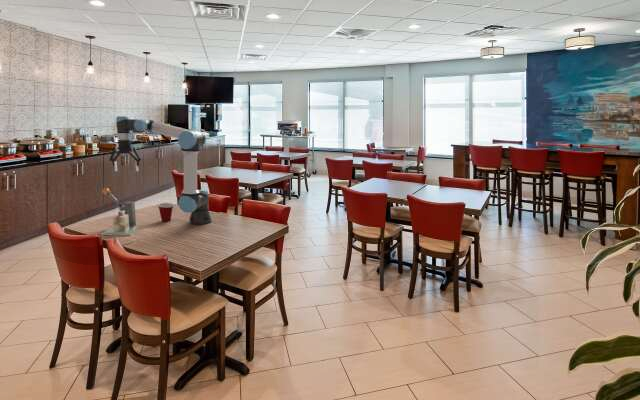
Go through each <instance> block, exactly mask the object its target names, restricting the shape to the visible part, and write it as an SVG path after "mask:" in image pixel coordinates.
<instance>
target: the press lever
mask: <svg viewBox="0 0 640 400" xmlns="http://www.w3.org/2000/svg"><path fill="white" fill-rule="evenodd" d="M102 193H103V194H104V195H106V196H108V197H109V199H110V200H111V201H112V202H113V203H115V205H116V206H117V207H118V208H119V209H118V211H119V212H120V211H122V212H123V211H124V204H122V203H121V201H119V200H118V199H117V198H116V197H115V196H114V195H113V193H111V191H110V189H109V188H108V187H107V188H103V190H102Z"/></svg>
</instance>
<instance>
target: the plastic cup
mask: <svg viewBox="0 0 640 400" xmlns="http://www.w3.org/2000/svg"><path fill="white" fill-rule="evenodd" d="M174 206H175V205H174V204H173V203H168V202H167V203H165V202H164V203H163V202H162V203H158V204H157V207H158V209H159V214H160V218H161V219H160V220H161V221H162V222H164V223H168V222H171V220H172V216H173V215H172V214H173V209H174Z"/></svg>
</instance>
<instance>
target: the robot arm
mask: <svg viewBox="0 0 640 400" xmlns="http://www.w3.org/2000/svg"><path fill="white" fill-rule="evenodd" d="M115 120H116V122H115V125H116V132H117V134H116V135H117V143H118V144H117V146H118V147H117V146H113V148H112V149H113V150H112V153H111V155H110V157H109V161H111V163H112V166H113V168H114V172H118V161H117V160H118V158H119V157H120V156H121V155H122V154H124V155H125V154H129V155H130V156H131V157H132V158H133V159H134V160H135V161H134V164H135V172H138V171H139V166H140V161H142V160H143V159H142V157H141V156H140V153H139V152H138V150H137V147H136V146H133V147H132V145H131V135H130V132H132V131H133V132H145V131H148V132H151V133H156V134H160V135H163V136H167V137H171V138H173V139H174V138H175V139H177V143H178V145H179V146H180V151H181V152H182V153H183V189H182V191H181V193H180V194H181V196H180V198H179V199H178V203H177V204H178V207H179V209H180V210H181V211H182V212H183V213H187V214H189V213H190V216H189V219H188V222H189V223H190V224H192V225H206V223H207V224H210V223H212V216H211V213H210V210H209V196H210V195H209V191H208V190H205V189H198V154H199V153H200V151H201V150H200V149H201V147H202V146H204V145H205V143H206V141H207V140H206V135H205V133H204V132H203V131H201V130H197V129H192V128H189V129H186V128H183V127H178V126H174V125H171V124H167V123H163V122H159V121H157V120H156V121H155V120H154V119H150V118H149V119H146V118H145V119H141V118H140V119H139V118H137V119H134V118H133V119H130V118H129V117H128V116H125V115H124V116H123V115H122V116H121V115H120V116H119V115H118V116H116V117H115ZM131 150H132V151H131ZM117 151H118V152H117ZM133 152H134V153H133ZM116 153H117V154H116Z"/></svg>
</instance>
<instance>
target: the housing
mask: <svg viewBox="0 0 640 400" xmlns="http://www.w3.org/2000/svg"><path fill="white" fill-rule="evenodd" d="M112 227H113V230H114V231H126V230H127V229H129V216H128V214H125V213H124V214H123V211H120V210H119V211H118V213H117V214H115V215H113V216H112Z"/></svg>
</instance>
